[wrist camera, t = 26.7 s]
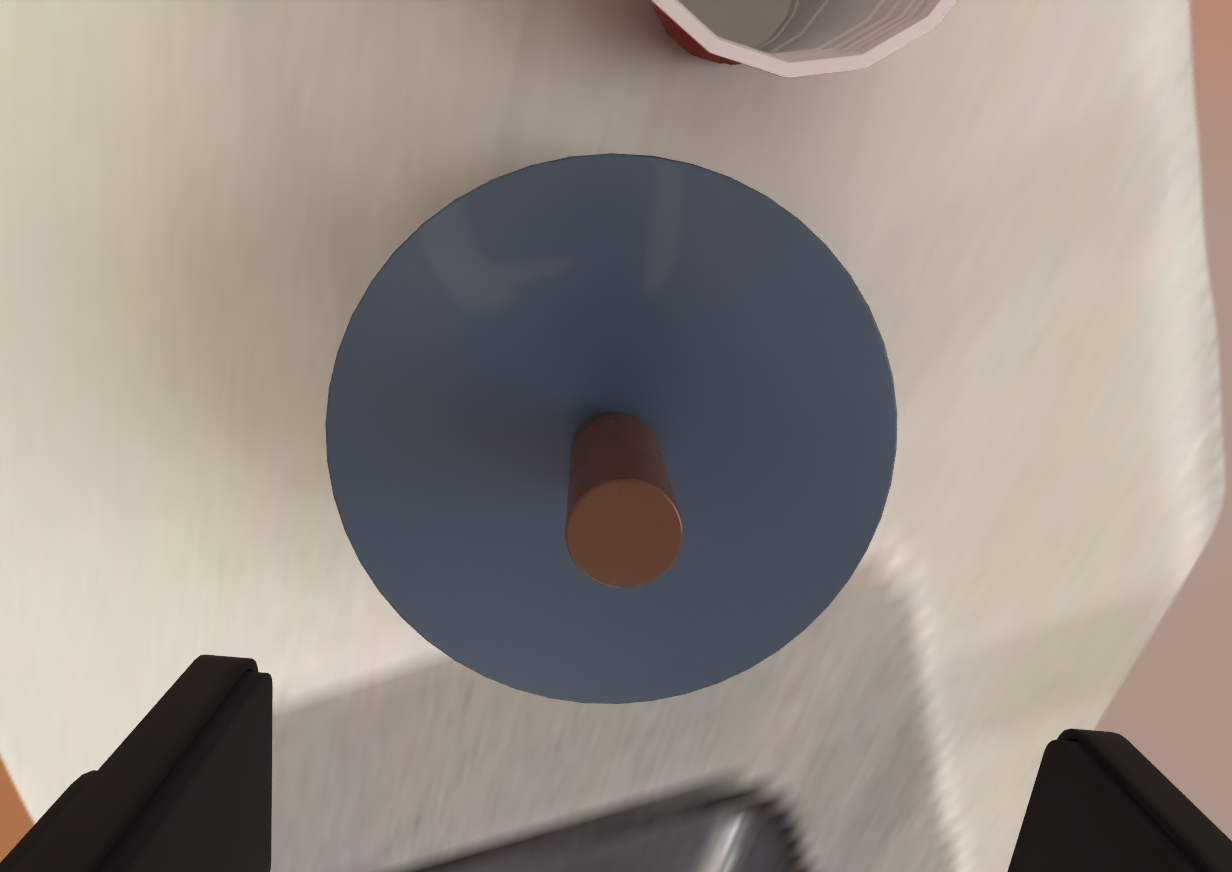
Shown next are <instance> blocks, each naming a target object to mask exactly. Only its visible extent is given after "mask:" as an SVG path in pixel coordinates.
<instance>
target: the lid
mask: <svg viewBox="0 0 1232 872" xmlns="http://www.w3.org/2000/svg"><path fill="white" fill-rule="evenodd" d="M896 443H897V408H896V400H895V391H894V382H893V376H892V372H891V368H890V364H889V360H888V357H887V353H886V349H885V345H884V342H883V339H882V337H881V334H880V332H879V329H878V327H877V325H876V322H875V320H874V317H873V315H872V313H871V310H870V308H869V306H868V304H867V303H866V301H865V299H864V298H863V296H862V294H861V292H860V291H859V289H858V287H857V286H856V284H855V282H854V281H853V279H852V277H851V275H850V274H849V273H848V272H847V270H846V269H845V268H844V267H843V265H842V264H841V263H840V262H839V260H838V259H837V258H836V257H835V255H834V254H833V253H832V252H831V250H830V249H829V248H828V247H827V245H826V244H825V243H823V242H822V241H821V240H820V239H819V238H818V237H817V236H816V235H815V234H814V233H813V232H812V231H811V230H810V229H809V228H808V227H807V226H806V225H804V224H803V223H802V222H801V221H800V220H799V219H798V218H797V217H795V216H794V215H792V214H791V213H790V212H788V211H787V210H785V209H784V208H783V207H781V206H780V205H778V204H777V203H776V202H774V201H773V200H771V199H770V198H769V197H767V196H765V195H764V194H762V193H760V192H758V191H756V190H754V189H752V188H750V187H748V186H746V185H744V184H742V183H740V182H738V181H737V180H735V179H733V178H731V177H728V176H725V175H722V174H719V173H717V172H714V171H711V170H708V169H705V168H702V167H699V166H697V165H694V164H690V163H685V162H680V161H675V160H670V159H665V158H660V157H655V156H644V155H628V154H599V155H586V156H573V157H567V158H562V159H558V160H553V161H549V162H544V163H540V164H535V165H530V166H528V167H525V168H522V169H520V170H517V171H514V172H512V173H509V174H506V175H503V176H501V177H498V178H495V179H493V180H491V181H489V182H487V183H485V184H483V185H481V186H479V187H478V188H476V189H474V190H472V191H470V192H468V193H466V194H465V195H463V196H461V197H459V198H457V199H455V200H454V201H453V202H451V203H450V204H449V205H447V206H446V207H445V208H443V209H442V210H440V211H439V212H438V213H436V214H435V215H434V216H432V217H431V218H430V219H428V220H427V221H425V222H424V223H423V224H422V225H421V226H420V227H419V228H418V229H417V230H416V231H415V232H414V233H413V234H412V235H411V236H410V237H409V238H408V239H407V240H406V241H405V242H403V243H402V244H401V245H400V246H399V247H398V248H397V249H396V250H395V251H394V253H393V254H392V255H391V257H390V258H389V259H388V260H387V262H386V263H385V264H384V266H383V267H382V268H381V270H380V271H379V272H378V273H377V275H376V276H375V277H374V279H373V280H372V281H371V283H370V284H369V286H368V288H367V290H366V292H365V293H364V295H363V297H362V299H361V300H360V302H359V304H358V306H357V307H356V309H355V311H354V313H353V314H352V316H351V319H350V322H349V324H348V327H347V329H346V332H345V334H344V337H343V339H342V342H341V344H340V347H339V349H338V353H337V357H336V361H335V365H334V369H333V373H332V378H331V382H330V386H329V394H328V404H327V415H326V445H327V463H328V468H329V474H330V479H331V485H332V490H333V495H334V499H335V502H336V505H337V508H338V511H339V514H340V517H341V520H342V523H343V526H344V529H345V532H346V534H347V536H348V538H349V540H350V542H351V544H352V546H353V548H354V550H355V553H356V555H357V557H358V559H359V561H360V563H361V564H362V566H363V567H364V569H365V570H366V572H367V573H368V575H369V576H370V578H371V580H372V581H373V583H374V584H375V586H376V587H377V589H378V590H379V592H380V593H381V594H382V595H383V596H384V598H385V599H386V600H387V601H388V602H389V603H390V605H391V606H392V607H393V608H394V609H395V610H396V612H397V613H398V614H399V615H400V616H401V617H402V618H403V619H404V620H405V621H406V622H407V623H408V624H409V625H410V626H411V627H413V628H414V629H415V630H416V631H417V632H418V633H419V634H420V635H421V636H422V637H424V638H425V639H426V640H427V641H428V642H430V643H431V644H432V645H434V646H435V647H437V648H438V649H439V650H441V651H442V652H444V653H445V654H447V655H448V656H449V657H451V658H452V659H454V660H455V661H457V662H459V663H461V664H462V665H464V666H466V667H468V668H470V669H472V670H474V671H475V672H477V673H479V674H481V675H483V676H485V677H487V678H489V679H492V680H495V681H497V682H500V683H502V684H505V685H507V686H510V687H512V688H515V689H518V690H521V691H525V692H529V693H533V694H537V695H540V696H544V697H548V698H553V699H560V700H567V701H574V702H581V703H606V704H621V703H633V702H644V701H653V700H658V699H663V698H668V697H673V696H678V695H683V694H687V693H690V692H693V691H696V690H699V689H702V688H705V687H708V686H711V685H714V684H717V683H719V682H722V681H724V680H726V679H728V678H730V677H732V676H735V675H737V674H739V673H741V672H743V671H745V670H748V669H749V668H751V667H753V666H754V665H756V664H758V663H759V662H761V661H763V660H764V659H766V658H767V657H769V656H771V655H772V654H774V653H776V652H777V651H779V650H780V649H781V648H782V647H784V646H785V645H786V644H787V643H789V642H790V641H791V640H793V639H794V638H795V637H796V636H798V635H799V634H800V633H801V632H803V631H804V630H805V629H806V628H807V627H808V626H809V625H810V624H811V623H812V622H813V621H814V620H815V619H816V618H817V617H818V616H819V615H820V614H821V613H822V612H823V611H824V610H825V609H826V608H827V607H828V606H829V605H830V603H831V602H832V601H833V600H834V598H835V597H836V596H837V594H838V593H839V592H840V591H841V589H842V588H843V587H844V586H845V584H846V583H847V582H848V580H849V579H850V577H851V576H852V574H853V572H854V571H855V569H856V567H857V566H858V564H859V562H860V561H861V559H862V557H863V556H864V554H865V552H866V551H867V549H868V547H869V544H870V542H871V540H872V538H873V535H874V533H875V531H876V528H877V526H878V524H879V522H880V519H881V517H882V513H883V510H884V506H885V503H886V500H887V496H888V493H889V489H890V486H891V481H892V474H893V468H894V461H895V455H896Z"/></svg>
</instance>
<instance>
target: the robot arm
mask: <svg viewBox="0 0 1232 872" xmlns="http://www.w3.org/2000/svg"><path fill="white" fill-rule="evenodd" d="M271 808H272V678H271V675H270V674H269V673H260V672H258V667H257V664H256V661H255V660H253V659H250V658H238V657H227V656H215V655H200V656H199V657H198V658H197V659H195V660H194V661H193V663H192V664H191V665H190V666H189V667H188V668H187V669H186V671H185V672H184V673H183V674H182V675H181V676H180V677H179V679H178V680H177V681H176V682H175V683H174V684H173V685H172V687H171V688H170V689H169V690H168V691H167V692H166V693H165V694H164V696H163V697H162V698H161V699H160V700H159V701H158V702H157V704H156V705H155V706H154V707H153V708H152V709H151V710H150V712H149V713H148V714H147V715H146V716H145V717H144V718H143V720H142V721H141V722H140V723H139V724H138V725H137V726H136V728H135V729H134V730H133V731H132V732H131V733H130V734H129V736H128V737H127V738H126V739H125V740H124V741H123V742H122V743H121V745H120V746H119V747H118V748H117V749H116V750H115V751H114V753H113V754H112V755H111V756H110V757H109V758H108V759H107V761H106V762H105V763H104V764H103V765H102V766H101V767H100V769H99V770H98V771H95V770H93V771H90V772H88V773H85V774H83V775H81V776H80V777H79V778H78V779H77V780H76V781H75V782H73V783H72V784H71V785H70V786H69V787H68V788H67V790H66V791H65V792H64V793H63V794H62V795H61V796H60V797H59V798H58V799H57V801H56V802H55V803H54V804H53V805H52V806H51V807H50V808H49V809H48V811H47V812H46V813H45V814H44V815H43V816H42V817H41V818H40V819H39V821H38V822H37V823H36V824H35V825H34V826H33V827H32V828H31V829H30V831H29V832H28V833H27V834H26V835H25V836H24V837H23V838H22V839H21V840H20V842H19V843H18V844H17V845H16V846H15V847H14V849H12V850H11V852H10V853H9V854H8V855H7V856H6V857H5V858H4V859H3V860H2V862H1V863H0V872H270V869H271ZM1008 872H1232V841H1231V840H1230V839H1229V838H1228V837H1227V836H1226V835H1225V834H1224V833H1223V832H1222V831H1221V830H1219V829H1218V827H1217V826H1216V825H1214V824H1213V823H1212V822H1211V821H1210V820H1209V819H1208V818H1207V817H1206V816H1205V815H1204V814H1203V813H1202V812H1201V811H1200V810H1199V809H1198V808H1197V807H1196V806H1195V805H1194V804H1193V803H1192V802H1191V801H1190V800H1189V799H1188V798H1186V796H1185V795H1184V794H1183V793H1182V792H1180V791H1179V790H1178V789H1177V788H1176V787H1175V786H1174V785H1173V784H1172V783H1171V782H1170V781H1169V780H1168V779H1167V778H1166V777H1165V776H1164V775H1163V774H1162V773H1161V772H1160V771H1159V770H1158V769H1157V768H1156V767H1154V765H1152V764H1151V762H1150V761H1148V760H1147V758H1145V757H1144V756H1143V755H1142V754H1141V753H1140V752H1139V751H1138V750H1137V749H1136V748H1135V747H1134V746H1133V745H1132V744H1131V743H1130V742H1129V741H1128V740H1127V739H1126V738H1124V737H1123V736H1121V735H1120V734H1117V733H1113V732H1104V731H1092V730H1080V729H1068V730H1064V731H1063V732H1062V733H1061V734H1060V735H1059V737H1058V739H1057V740H1053V741H1051V742H1050V743H1049V744H1048V745H1047V747H1046V749H1045V751H1044V754H1043V758H1042V761H1041V764H1040V768H1039V771H1038V774H1037V777H1036V781H1035V784H1034V787H1033V790H1032V794H1031V797H1030V800H1029V804H1028V807H1027V810H1026V813H1025V817H1024V820H1023V823H1022V826H1021V830H1020V833H1019V836H1018V840H1017V843H1016V846H1015V849H1014V853H1013V856H1012V859H1011V862H1010V866H1009V869H1008Z"/></svg>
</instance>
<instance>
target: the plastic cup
mask: <svg viewBox="0 0 1232 872" xmlns="http://www.w3.org/2000/svg"><path fill="white" fill-rule="evenodd" d="M651 1H652V3H653V5H654V7H655V9H656V11H657V13H658V15H659V18H660V20H661V22H662V24H663V26H664V27H665V29H666V31H667V33H668V34H669V35H670V36H671V37H672V38H673V39H675V40H676V41H677V42H678V43H679V44H680V45H681V46H682V47H684V48H685V49H686V50H687V51H688V52H689V53H690V54H692V55H695V56H698V57H701V58H705V59H708V60H711V61H714V62H717V63H726V64H729V65H735V64H745V65H748V66H751V67H754V68H757V69H760V70H763V71H766V72H769V73H772V74H775V75H778V76H781V77H785V78H789V77H798V76H807V75H816V74H825V73H834V72H842V71H851V70H860V69H866V68H867V67H869V66H871V65H873V64H874V63H876V62H878V61H879V60H881V59H883V58H885V57H886V56H888V55H890V54H891V53H893V52H895V51H897V50H898V49H900V48H902V47H903V46H905V45H907V44H909V43H910V42H912V41H914V40H915V39H917V38H919V37H921V36H922V35H924V34H926V33H927V32H929V31H931V30H933V29H934V28H936V26H937V25H938V24H939V23H940V21H941V20H942V19H943V18H944V16H945V15H946V14H947V12H948V11H949V10H950V9H951V7H952V6H953V5H954V4H955V2H956V1H957V0H651Z"/></svg>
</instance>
